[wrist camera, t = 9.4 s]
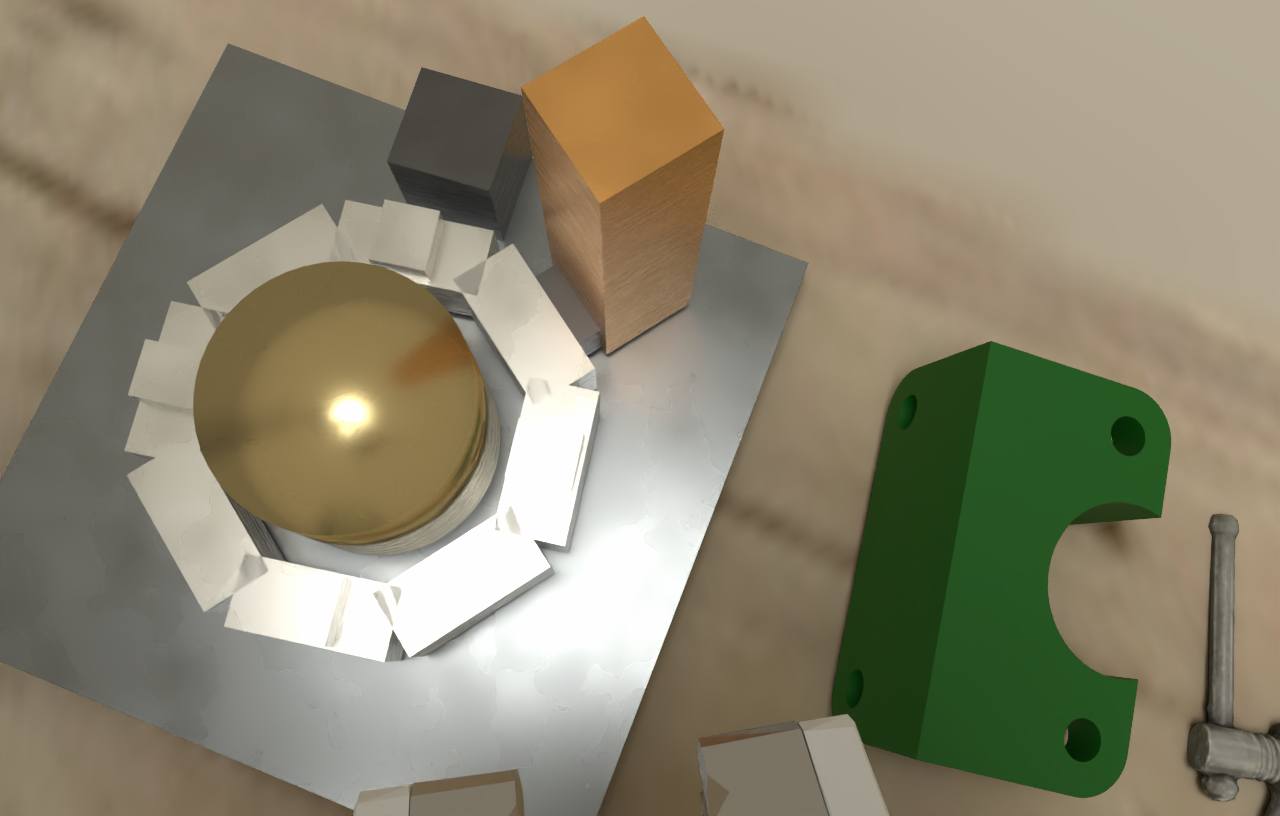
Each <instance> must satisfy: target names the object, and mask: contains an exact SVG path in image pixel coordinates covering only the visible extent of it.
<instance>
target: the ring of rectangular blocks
mask: <svg viewBox="0 0 1280 816" xmlns="http://www.w3.org/2000/svg"><path fill="white" fill-rule="evenodd" d="M521 89H522V95H523V100H524V106H525V112H526V117H527V123H528V129H529V134H530V140H531V146H532V152H533V157H534V163H535V169H536V174H537V180H538V186H539V191H540V197H541V203H542V209H543V214H544V220H545V226H546V231H547V237H548V243H549V248H550V254H551V260H552V267H550V268H549V269H547V270H545V271H544V272H542V273H541V274H539V275H537V276H536V277H535V276H534V275H533V273H532V272H531V270H530V269H529V267H528V266H527V264H526V262H525V261H524V259H523V258H522V256H521V255H520V253H519V252H518V250H517V249H516V247H515V246H514V244H511V245H510V246H508V247H506V248H505V249H503V250H501V251H500V250H499V246H498V243H497V240H496V236H495V233H494V231H493V230H488V229H483V228H479V227H474V226H469V225H464V224H460V223H455V222H450V221H445V220H444V219H443V216H442V214H441V211H438V210H434V209H429V208H424V207H419V206H414V205H410V204H405V203H400V202H395V201H390V200H386V199H385V200H384V204H383V207H378V206H373V205H368V204H364V203H359V202H354V201H349V200H345V204H344V207H343V211H342V214H341V218H340V221H339V225H338V227H337V225H336V224H335V222H334V221H333V219H332V218H331V216H330V215H329V213H328V212H327V210H326V209H325V207H324V206H323V204H321V205H319V206H317V207H315V208H314V209H312V210H310V211H308V212H307V213H305V214H303V215H302V216H300V217H298V218H296V219H295V220H293V221H291V222H289V223H288V224H286V225H284V226H283V227H281V228H279V229H277V230H276V231H274V232H272V233H270V234H269V235H267V236H265V237H264V238H262V239H260V240H258V241H257V242H255V243H253V244H251V245H250V246H248V247H246V248H245V249H243V250H241V251H239V252H238V253H236V254H234V255H232V256H231V257H229V258H227V259H226V260H224V261H222V262H220V263H219V264H217V265H215V266H213V267H212V268H210V269H208V270H207V271H205V272H203V273H201V274H200V275H198V276H196V277H194V278H193V279H191V280H189V281H188V282H187V284H188V285H189V287H190V289H191V290H192V292H193V294H194V295H195V297H196V299H197V300H198V302H199V304H200V305H201V307H198V306H193V305H188V304H184V303H179V302H174V301H171V303H170V306H169V310H168V313H167V316H166V319H165V322H164V326H163V329H162V332H161V335H160V338H159V342H158V341H153V340H148V339H145V342H144V345H143V348H142V351H141V355H140V358H139V361H138V364H137V367H136V370H135V374H134V377H133V380H132V383H131V386H130V389H129V393H128V395H129V396H131V397H132V398H134V399H136V400H138V401H140V402H139V405H138V408H137V412H136V415H135V418H134V421H133V424H132V428H131V431H130V434H129V437H128V440H127V444H126V447H125V450H124V451H126V452H128V453H131V454H133V455H136V456H138V457H141V458H143V459H146V460H148V461H149V462H147V463H146V464H144V465H142V466H141V467H139V468H137V469H136V470H134V471H132V472H131V473H129V474H127V477H128V478H129V480H130V482H131V484H132V486H133V487H134V489H135V491H136V493H137V494H138V496H139V498H140V500H141V502H142V503H143V505H144V507H145V509H146V510H147V512H148V514H149V516H150V517H151V519H152V521H153V523H154V525H155V526H156V528H157V530H158V532H159V533H160V535H161V537H162V539H163V541H164V542H165V544H166V546H167V548H168V549H169V551H170V553H171V555H172V556H173V558H174V560H175V562H176V564H177V565H178V567H179V569H180V571H181V572H182V574H183V576H184V578H185V580H186V581H187V583H188V585H189V587H190V588H191V590H192V592H193V594H194V595H195V597H196V599H197V601H198V603H199V604H200V606H201V608H202V610H203V611H204V612H210V613H221V614H227V617H226V621H225V624H224V627H228V628H232V629H237V630H241V631H246V632H250V633H255V634H260V635H264V636H269V637H273V638H278V639H282V640H287V641H291V642H296V643H301V644H305V645H310V646H314V647H319V648H323V649H328V650H332V651H337V652H342V653H346V654H351V655H355V656H360V657H364V658H369V659H373V660H378V661H383V662H390V661H401V659H402V655H403V651H404V649H405V650H406V652H407V654H408V655H409V657H425V656H426V655H428V654H429V653H431V652H432V651H434V650H436V649H437V648H439V647H440V646H442V645H443V644H445V643H446V642H448V641H449V640H451V639H453V638H454V637H456V636H457V635H459V634H460V633H462V632H463V631H465V630H467V629H468V628H470V627H471V626H473V625H474V624H476V623H477V622H479V621H480V620H482V619H484V618H485V617H487V616H488V615H490V614H491V613H493V612H494V611H496V610H498V609H499V608H501V607H502V606H504V605H505V604H507V603H508V602H510V601H511V600H513V599H515V598H516V597H518V596H519V595H521V594H522V593H524V592H525V591H527V590H529V589H530V588H532V587H533V586H535V585H536V584H538V583H539V582H541V581H542V580H544V579H546V578H547V577H549V576H550V575H552V574H553V573H555V572H554V570H553V569H552V567H551V565H550V564H549V562H548V561H547V559H546V557H545V556H544V554H543V553H542V551H541V549H540V548H539V547H542V548H547V549H552V550H556V551H561V552H565V553H569V548H570V544H571V540H572V535H573V531H574V526H575V522H576V517H577V513H578V509H579V504H580V500H581V495H582V491H583V486H584V482H585V477H586V473H587V469H588V464H589V460H590V455H591V451H592V446H593V442H594V438H595V433H596V429H597V424H598V420H599V415H600V411H601V405H600V392H599V391H594V389H596V388H597V383H596V371H595V367H594V366H593V364H592V363H591V361H590V360H589V358H588V357H587V355H589V354H591V353H592V352H594V351H596V350H597V349H599V348H600V347H602V348H603V350H604V352H605V353H606V355H607V354H609V353H611V352H612V351H614V350H615V349H617V348H619V347H620V346H622V345H623V344H625V343H627V342H628V341H630V340H632V339H633V338H635V337H636V336H638V335H640V334H641V333H643V332H644V331H646V330H648V329H649V328H651V327H652V326H654V325H656V324H657V323H659V322H661V321H662V320H664V319H665V318H667V317H669V316H670V315H672V314H673V313H675V312H677V311H678V310H680V309H681V308H683V307H685V306H686V305H688V304H689V302H690V297H691V292H692V287H693V282H694V277H695V272H696V267H697V262H698V257H699V252H700V247H701V242H702V237H703V232H704V227H705V222H706V217H707V212H708V207H709V202H710V197H711V192H712V187H713V182H714V177H715V172H716V167H717V162H718V157H719V152H720V147H721V142H722V137H723V132H724V128H723V126H722V125H721V124H720V122H719V121H718V119H717V118H716V117H715V115H714V114H713V112H712V111H711V110H710V108H709V107H708V105H707V104H706V103H705V101H704V100H703V98H702V97H701V96H700V94H699V93H698V91H697V90H696V89H695V87H694V86H693V84H692V83H691V81H690V80H689V79H688V77H687V76H686V74H685V73H684V72H683V70H682V69H681V67H680V66H679V65H678V63H677V62H676V60H675V59H674V58H673V56H672V55H671V53H670V52H669V51H668V49H667V48H666V46H665V45H664V44H663V42H662V41H661V39H660V38H659V36H658V35H657V34H656V32H655V31H654V29H653V28H652V27H651V25H650V24H649V22H648V21H647V20H646V18H645V17H642V18H640V19H638V20H637V21H635V22H633V23H631V24H630V25H628V26H626V27H624V28H623V29H621V30H619V31H618V32H616V33H614V34H612V35H611V36H609V37H607V38H605V39H604V40H602V41H600V42H599V43H597V44H595V45H593V46H592V47H590V48H588V49H586V50H585V51H583V52H581V53H580V54H578V55H576V56H574V57H573V58H571V59H569V60H567V61H566V62H564V63H562V64H561V65H559V66H557V67H555V68H554V69H552V70H550V71H548V72H547V73H545V74H543V75H542V76H540V77H538V78H536V79H535V80H533V81H531V82H529V83H528V84H526V85H524V86H523V87H521ZM337 261H345V262H360V263H365V264H371V265H376V266H379V267H383V268H386V269H389V270H392V271H394V272H397V273H399V274H401V275H403V276H405V277H407V278H409V279H411V280H412V281H414V282H415V283H417V284H419V285H420V286H422V287H423V288H425V289H426V290H427V291H428V292H429V293H430V294H432V295H433V296H434V297H435V298H436V299H437V300H438V301H439V302H440V303H441V304H442V305H443V306H444V307H445V308H446V310H447V311H449V312H454V313H458V314H463V315H468V316H472V317H473V318H474V320H475V321H476V323H477V325H478V326H479V328H480V329H481V331H482V332H483V334H484V335H485V337H486V339H487V340H488V342H489V343H490V345H491V346H492V348H493V349H494V351H495V353H496V354H497V356H498V357H499V359H500V360H501V362H502V364H503V365H504V367H505V368H506V370H507V371H508V373H509V374H510V376H511V378H512V379H513V381H514V382H515V384H516V385H517V387H518V388H519V390H520V392H521V393H522V395H523V396H524V398H525V399H524V403H523V407H522V411H521V416H520V419H518V423H517V427H516V432H515V436H514V440H513V444H512V448H511V452H510V457H509V461H508V465H507V469H506V473H505V477H506V478H505V482H504V486H503V490H502V495H501V499H500V503H499V507H498V511H497V514H496V515H494V516H493V517H491V518H490V519H488V520H486V521H485V522H483V523H482V524H480V525H479V526H477V527H475V528H474V529H472V530H471V531H469V532H468V533H466V534H464V535H463V536H461V537H460V538H458V539H456V540H455V541H453V542H452V543H450V544H449V545H447V546H445V547H444V548H442V549H441V550H439V551H437V552H436V553H434V554H433V555H431V556H430V557H428V558H426V559H425V560H423V561H422V562H420V563H419V564H417V565H415V566H414V567H412V568H411V569H409V570H407V571H406V572H404V573H403V574H401V575H400V576H398V577H396V578H395V579H393V580H392V581H390V582H389V583H387V584H385V583H380V582H376V581H371V580H367V579H362V578H357V577H353V576H348V575H344V574H339V573H335V572H330V571H325V570H321V569H316V568H312V567H307V566H302V565H298V564H293V563H289V562H286V561H285V559H284V558H283V556H282V554H281V552H280V551H279V549H278V547H277V546H276V544H275V542H274V540H273V539H272V537H271V535H270V534H269V532H268V530H267V528H266V527H265V525H264V523H263V522H262V520H261V519H260V518H258V517H256V516H255V515H253V514H252V513H250V512H249V511H247V510H246V509H244V508H243V507H242V506H240V505H239V504H238V503H237V502H236V501H235V500H234V499H233V498H232V497H230V496H229V495H228V493H227V492H226V491H225V490H224V489H223V487H222V486H221V485H220V484H219V483H218V482H217V480H216V478H215V477H214V475H213V474H212V472H211V470H210V469H209V467H208V465H207V463H206V461H205V459H204V456H203V454H202V452H201V449H200V446H199V442H198V439H197V435H196V431H195V424H194V416H193V395H194V387H195V380H196V376H197V372H198V368H199V365H200V361H201V359H202V356H203V354H204V351H205V349H206V347H207V344H208V343H209V341H210V339H211V337H212V336H213V334H214V332H215V330H216V329H217V327H218V326H219V325H220V323H221V322H222V321H223V319H224V318H225V317H226V315H227V314H228V313H229V312H230V311H231V310H232V309H233V308H234V307H235V306H236V305H237V304H238V303H239V302H240V301H241V300H242V299H243V298H244V297H246V296H247V295H248V294H249V293H251V292H252V291H253V290H254V289H256V288H257V287H259V286H261V285H262V284H264V283H266V282H267V281H269V280H270V279H272V278H275V277H277V276H279V275H281V274H283V273H285V272H288V271H291V270H294V269H297V268H300V267H303V266H307V265H312V264H317V263H323V262H337Z"/></svg>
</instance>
